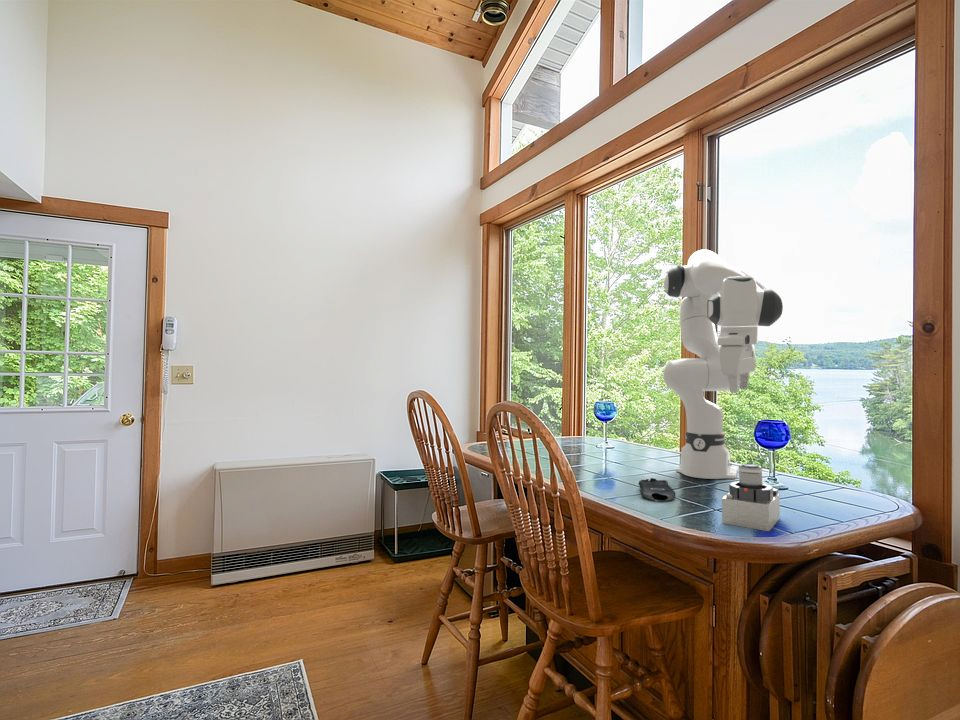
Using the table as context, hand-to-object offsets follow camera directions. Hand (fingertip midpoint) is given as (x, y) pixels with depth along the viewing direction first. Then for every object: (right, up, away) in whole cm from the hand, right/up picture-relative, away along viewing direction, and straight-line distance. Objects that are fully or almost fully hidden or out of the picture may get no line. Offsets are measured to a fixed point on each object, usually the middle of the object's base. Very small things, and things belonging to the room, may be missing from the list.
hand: (739, 390), depth 140 cm
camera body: (-3, -31, -11) cm, 33 cm away
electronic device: (-17, -31, +14) cm, 38 cm away
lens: (-3, -25, -11) cm, 27 cm away
